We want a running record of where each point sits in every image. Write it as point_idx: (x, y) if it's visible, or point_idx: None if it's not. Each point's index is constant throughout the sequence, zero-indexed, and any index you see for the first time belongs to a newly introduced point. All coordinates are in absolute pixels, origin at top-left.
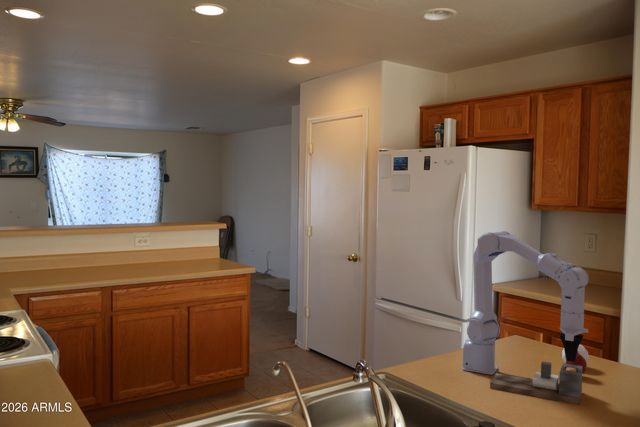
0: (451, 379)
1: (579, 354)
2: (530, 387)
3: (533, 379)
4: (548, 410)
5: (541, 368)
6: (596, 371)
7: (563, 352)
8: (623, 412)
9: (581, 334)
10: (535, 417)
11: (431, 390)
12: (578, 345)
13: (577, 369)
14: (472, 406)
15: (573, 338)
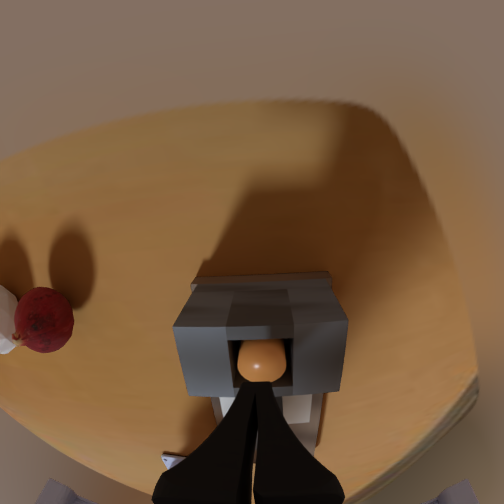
0: None
1: (19, 327)
2: None
3: (309, 419)
4: (410, 332)
5: None
6: (5, 254)
7: (7, 351)
8: (319, 131)
9: (157, 499)
10: (455, 341)
11: (369, 482)
12: (312, 455)
13: (227, 341)
14: (426, 430)
15: (472, 492)
